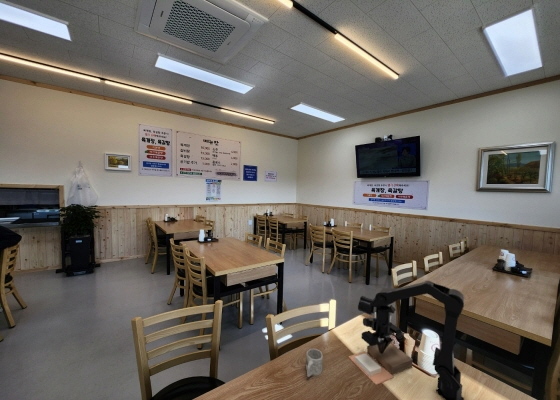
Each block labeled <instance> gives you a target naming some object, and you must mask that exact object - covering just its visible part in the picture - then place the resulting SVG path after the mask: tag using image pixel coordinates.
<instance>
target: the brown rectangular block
mask: <svg viewBox="0 0 560 400" xmlns="http://www.w3.org/2000/svg"><path fill="white" fill-rule="evenodd" d="M366 346H367V347H366V353H367V354H368V355H370V356H371V357H372V358H373V359H374V360H375V361H376V362H377V363H379V364H380V365H381V366H382V367H383V368H384V369H385V370H386V371H388V372H389V373H390V374H391V375H392V376H395V375H397V374H399V373H402V372H404V371H406V370H409V369H411V368H413V358H411V357H410V356H409V355H407V354H406V353H405V352H403V350H400V348H398V347H397V346H395V345H394V344H393V343H390V344H389V345H388V346H387V348H386V349H385V351H384V352H383V353H382V354H381V353H380V352H379V349H378V346H377V345H374V346H370V345H369V344H368V345H366Z"/></svg>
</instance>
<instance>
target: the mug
mask: <svg viewBox="0 0 560 400" xmlns="http://www.w3.org/2000/svg"><path fill="white" fill-rule="evenodd" d="M305 362H306V363H305V365H306V367H305V368H306V376H307V378H309V377H311V376H313V377H314V376H316V377H317V376H320V375H321V374H322V373H323V353H322V351H321V350H319V349H318V348H309V349H308V350H307V351H306V361H305Z"/></svg>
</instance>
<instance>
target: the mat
mask: <svg viewBox="0 0 560 400" xmlns="http://www.w3.org/2000/svg"><path fill="white" fill-rule="evenodd" d="M364 353H366V354H367V355H368V356H369V357H370V358H371V359H372V360H373V361H375V362H376V363H377V364H378V365H379V366H380V367H381V372H380V373H378V374H375V375H373V376H369V375H368V374H367V373H366V372H365V371H364V370H363V369H362V368H361V367H360V366H359V365H358V364H357V363H356V362H355V356H358V355H361V354H364ZM348 359H349V360H350V361H352V363H354V365H355V366H356V367H357V368H358V369H360V371H362V373H363V374H364V375H365V376H366V377H367V378H368V379H369V380H370V381H371V382H373V384H374V385H376V386H378V385H380V384H382V383H384V382H387V381H389V380H392V379H394V375H391V374H390V373H389V372H388V371H387V370H386V369H385V368H383V367H382V366H381V365H380V364H379V363H378V362H377V361H376V360H374V359H373V358H372V357H371V356H370V355H369V354H368V353H367V351H366V350H365V351H361V352H357V353H354V354H352V355H349V356H348Z"/></svg>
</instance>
